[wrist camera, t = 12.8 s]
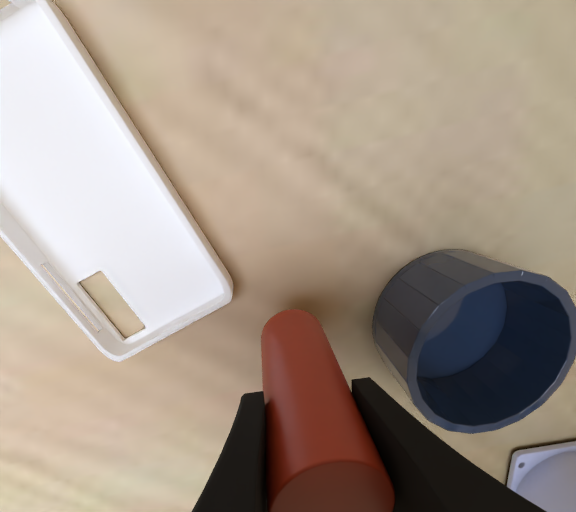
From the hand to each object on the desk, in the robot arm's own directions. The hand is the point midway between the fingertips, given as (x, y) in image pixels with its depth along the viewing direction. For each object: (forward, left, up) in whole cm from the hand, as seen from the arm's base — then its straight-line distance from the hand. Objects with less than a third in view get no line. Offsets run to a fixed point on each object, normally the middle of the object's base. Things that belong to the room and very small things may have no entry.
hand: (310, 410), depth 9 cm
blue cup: (-2, -10, -7) cm, 12 cm away
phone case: (+7, +9, -8) cm, 14 cm away
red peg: (0, 0, -4) cm, 4 cm away
